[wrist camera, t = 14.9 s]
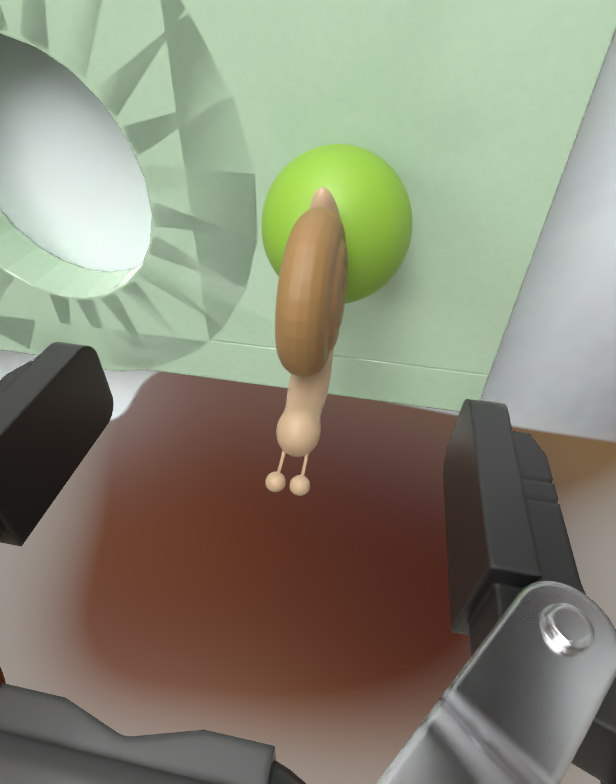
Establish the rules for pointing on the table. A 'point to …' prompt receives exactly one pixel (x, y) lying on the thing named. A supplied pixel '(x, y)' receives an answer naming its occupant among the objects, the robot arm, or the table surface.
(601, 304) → the table surface
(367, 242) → the snail figurine
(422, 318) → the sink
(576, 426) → the table surface
